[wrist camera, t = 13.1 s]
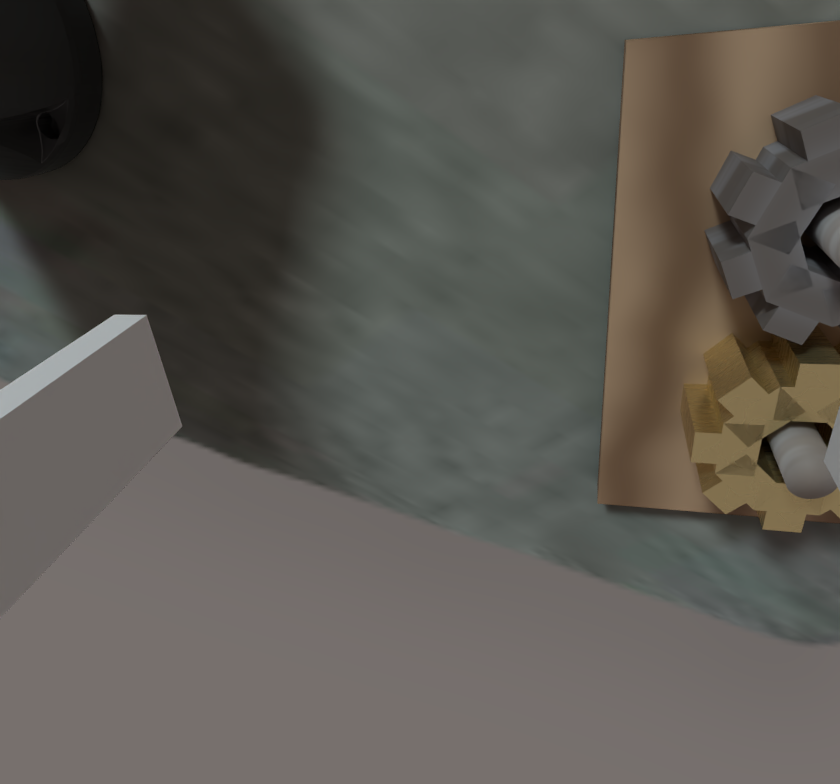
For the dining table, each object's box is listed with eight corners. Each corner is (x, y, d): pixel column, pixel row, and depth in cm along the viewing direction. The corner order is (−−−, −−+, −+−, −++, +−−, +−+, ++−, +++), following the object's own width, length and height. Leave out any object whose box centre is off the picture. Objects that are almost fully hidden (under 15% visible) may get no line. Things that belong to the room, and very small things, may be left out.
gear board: (597, 484, 42) (597, 584, 35) (624, 40, 30) (633, 45, 22) (910, 507, 38) (988, 629, 30) (1098, -4, 25) (1310, -15, 18)
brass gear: (692, 318, 33) (705, 360, 29) (903, 321, 31) (950, 367, 27) (672, 467, 38) (681, 522, 34) (854, 479, 36) (889, 540, 31)
